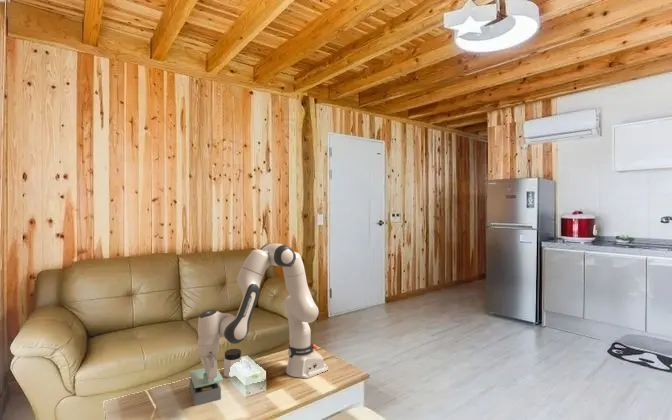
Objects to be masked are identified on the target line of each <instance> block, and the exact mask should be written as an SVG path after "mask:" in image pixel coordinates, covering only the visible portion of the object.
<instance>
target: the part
mask: <svg viewBox="0 0 672 420" xmlns="http://www.w3.org/2000/svg"><path fill="white" fill-rule="evenodd" d="M203 388H209V385H206V386H202V387H198V391H199V392H201V391H202V390H203Z"/></svg>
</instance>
